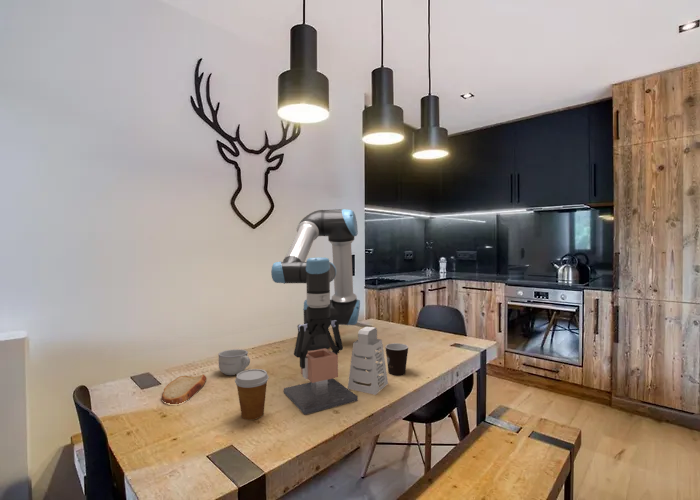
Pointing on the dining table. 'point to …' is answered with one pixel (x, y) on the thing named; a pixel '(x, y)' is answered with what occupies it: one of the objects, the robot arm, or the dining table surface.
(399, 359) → the coffee mug
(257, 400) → the disposable coffee cup
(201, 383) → the slice of bread
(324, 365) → the hollow square tube
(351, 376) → the grater
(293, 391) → the post stand
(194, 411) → the dining table surface
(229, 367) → the teacup
